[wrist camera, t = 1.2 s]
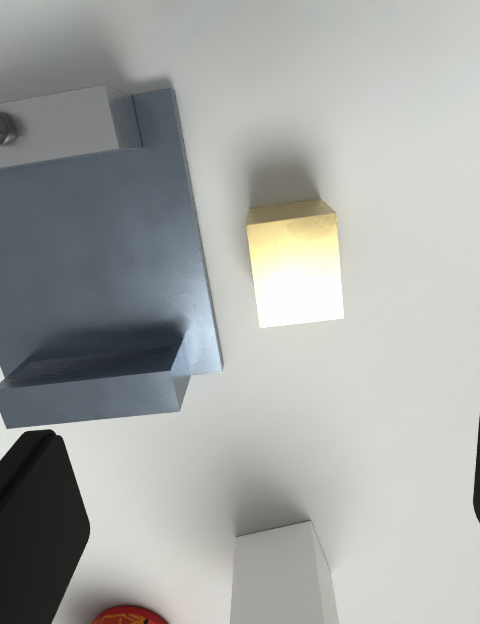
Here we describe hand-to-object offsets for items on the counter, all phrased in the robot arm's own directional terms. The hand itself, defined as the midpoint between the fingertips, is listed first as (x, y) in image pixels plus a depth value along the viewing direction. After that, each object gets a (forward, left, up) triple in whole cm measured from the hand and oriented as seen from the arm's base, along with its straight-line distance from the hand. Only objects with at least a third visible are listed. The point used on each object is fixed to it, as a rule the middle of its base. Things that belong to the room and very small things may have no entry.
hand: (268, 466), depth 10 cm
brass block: (-2, -1, -17) cm, 17 cm away
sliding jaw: (+10, -9, -16) cm, 21 cm away
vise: (+10, -2, -17) cm, 20 cm away
